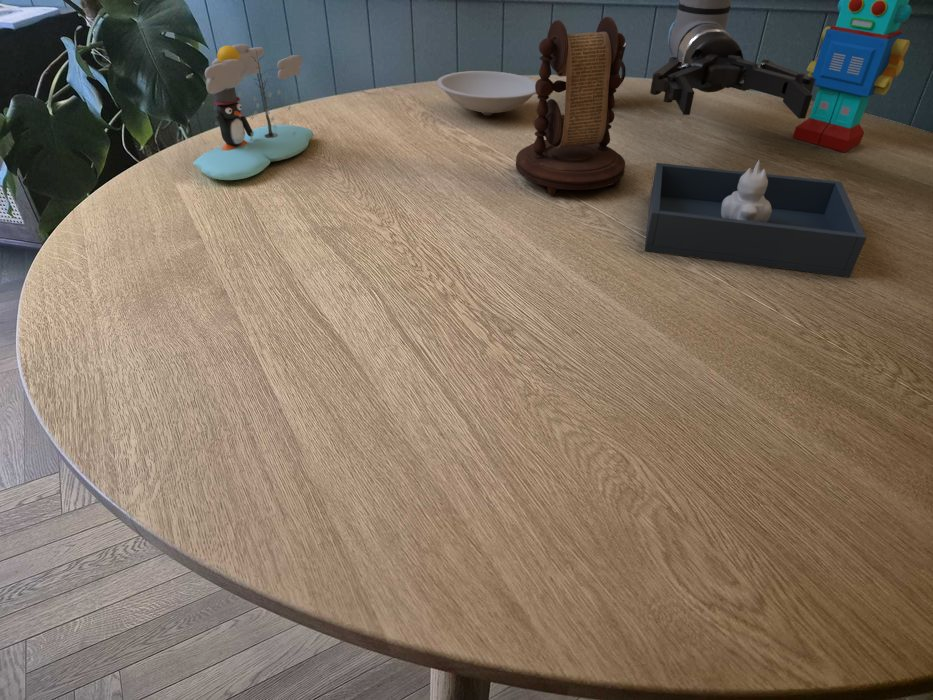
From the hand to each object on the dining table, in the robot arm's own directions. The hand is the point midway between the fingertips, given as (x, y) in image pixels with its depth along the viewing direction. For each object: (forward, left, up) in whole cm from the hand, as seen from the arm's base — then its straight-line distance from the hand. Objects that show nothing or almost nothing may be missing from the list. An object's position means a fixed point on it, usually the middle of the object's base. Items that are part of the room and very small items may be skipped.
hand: (746, 105), depth 78 cm
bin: (-2, +9, -12) cm, 15 cm away
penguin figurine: (+65, +4, -12) cm, 66 cm away
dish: (+37, -25, -12) cm, 46 cm away
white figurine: (-2, +9, -11) cm, 15 cm away
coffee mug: (+20, -34, -12) cm, 41 cm away
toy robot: (-17, -27, -12) cm, 34 cm away
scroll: (+20, -2, -12) cm, 24 cm away
